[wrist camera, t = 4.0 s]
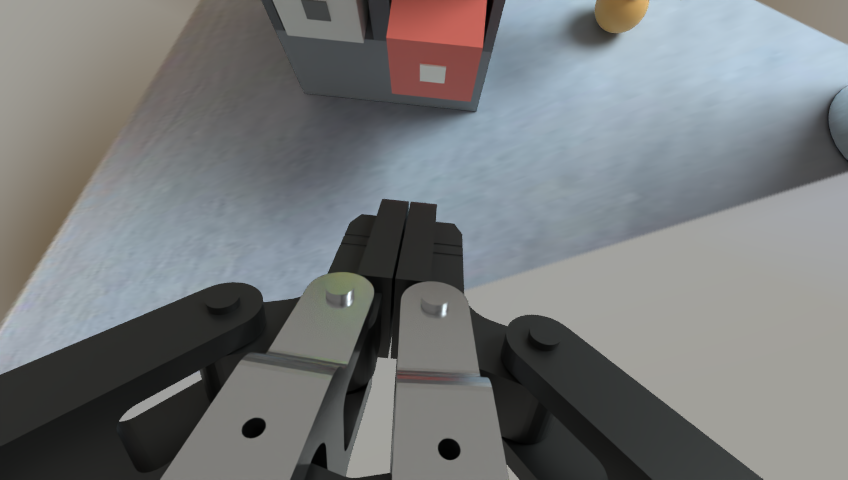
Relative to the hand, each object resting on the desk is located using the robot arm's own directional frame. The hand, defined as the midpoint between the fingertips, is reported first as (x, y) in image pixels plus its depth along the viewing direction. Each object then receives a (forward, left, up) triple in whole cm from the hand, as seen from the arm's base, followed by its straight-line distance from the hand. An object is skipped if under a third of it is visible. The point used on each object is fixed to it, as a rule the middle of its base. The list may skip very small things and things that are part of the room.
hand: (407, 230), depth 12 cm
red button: (0, -14, -11) cm, 18 cm away
